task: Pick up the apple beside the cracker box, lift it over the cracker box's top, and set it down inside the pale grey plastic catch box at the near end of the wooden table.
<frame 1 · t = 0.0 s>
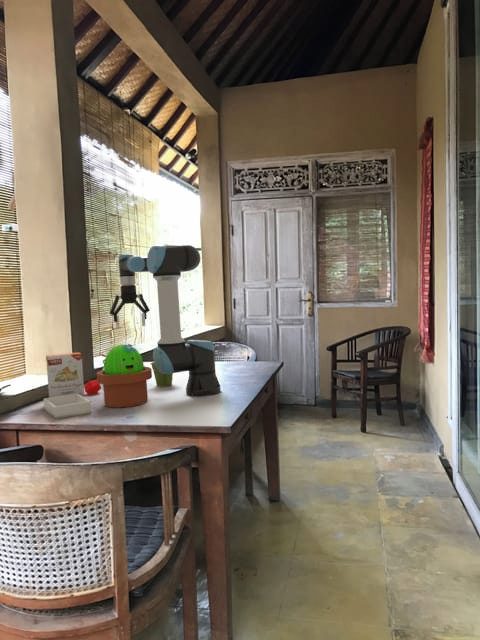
hand: (131, 327, 253), 28 cm above the table, tool pointing down, fingers open, 13 cm apart
catch box: (67, 411, 199), on the table
plant pot: (164, 385, 242), on the table
potted cactus: (126, 403, 208), on the table
cracker box: (67, 402, 216), on the table
apple: (93, 393, 232), on the table
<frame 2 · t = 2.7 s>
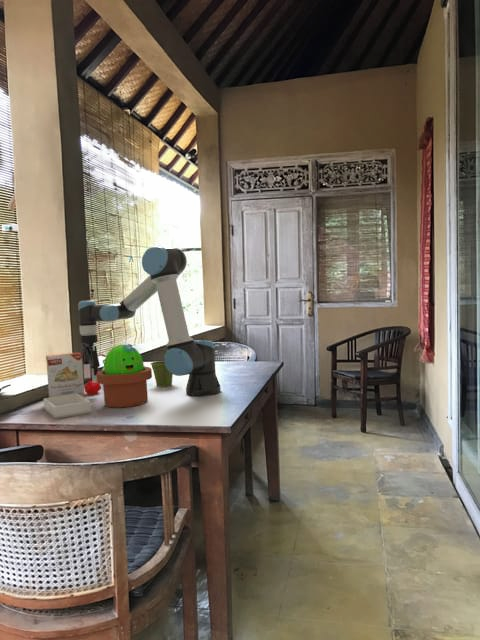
hand: (91, 380, 232), 6 cm above the table, tool pointing down, fingers open, 13 cm apart
nothing on the table moved.
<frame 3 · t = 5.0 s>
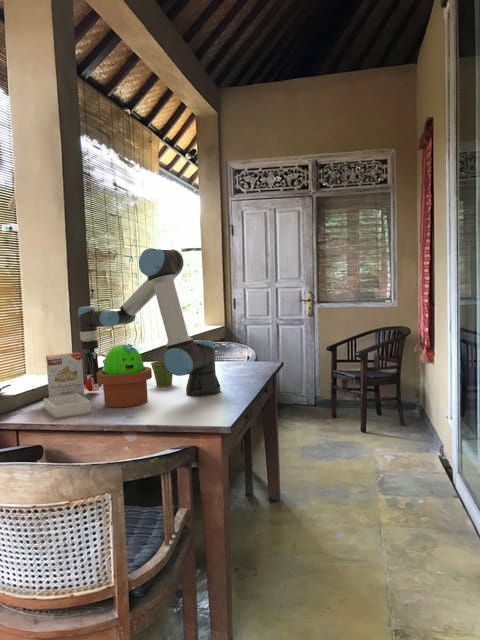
hand: (93, 389, 231), 2 cm above the table, tool pointing down, fingers closed on apple, 7 cm apart
apple: (93, 390, 231), point 1 cm above the table, touching gripper
everything else where it was.
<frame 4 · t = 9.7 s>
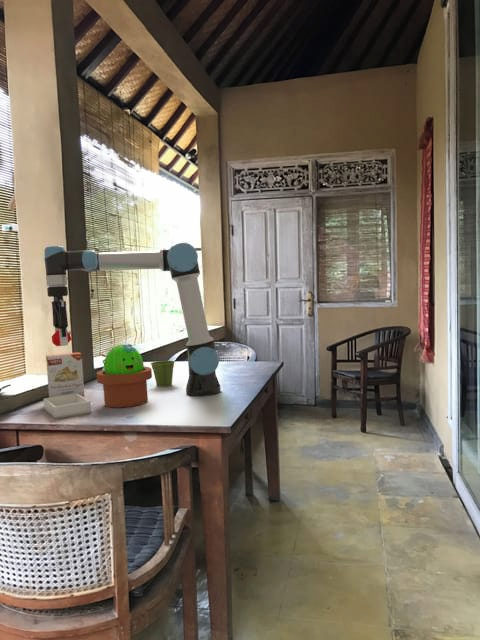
hand: (62, 344, 198), 27 cm above the table, tool pointing down, fingers closed on apple, 7 cm apart
apple: (62, 345, 198), point 26 cm above the table, touching gripper
everything else where it was.
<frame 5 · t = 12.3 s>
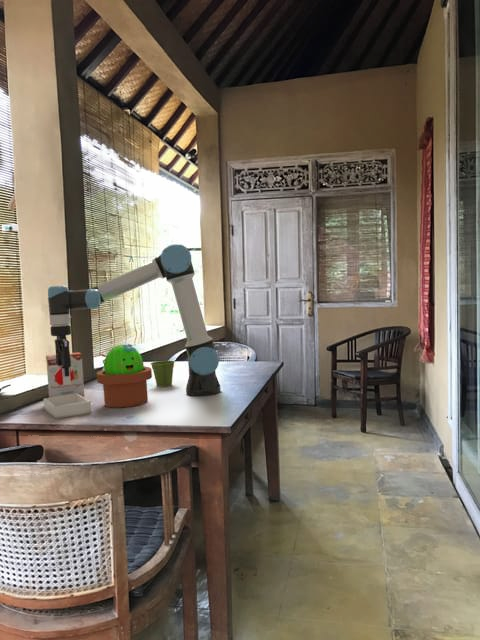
hand: (64, 383, 199), 11 cm above the table, tool pointing down, fingers closed on apple, 7 cm apart
apple: (65, 384, 199), point 11 cm above the table, touching gripper
everything else where it was.
when the fingers open (2 cm above the table, at t = 14.5 s): apple drops 1 cm, resting on catch box.
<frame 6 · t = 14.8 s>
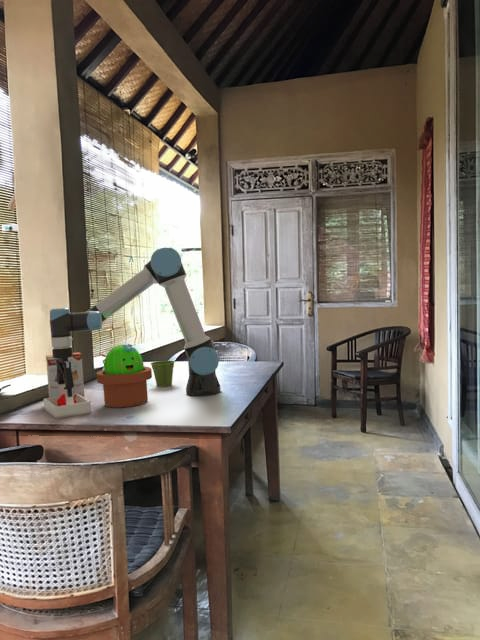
hand: (66, 402, 199), 3 cm above the table, tool pointing down, fingers open, 10 cm apart
apple: (67, 409, 199), point 1 cm above the table, touching catch box
everything else where it was.
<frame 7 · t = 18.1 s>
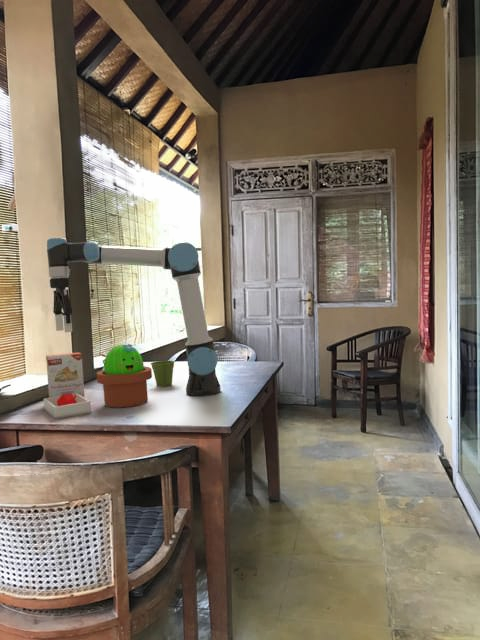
hand: (64, 331, 199), 32 cm above the table, tool pointing down, fingers open, 13 cm apart
nothing on the table moved.
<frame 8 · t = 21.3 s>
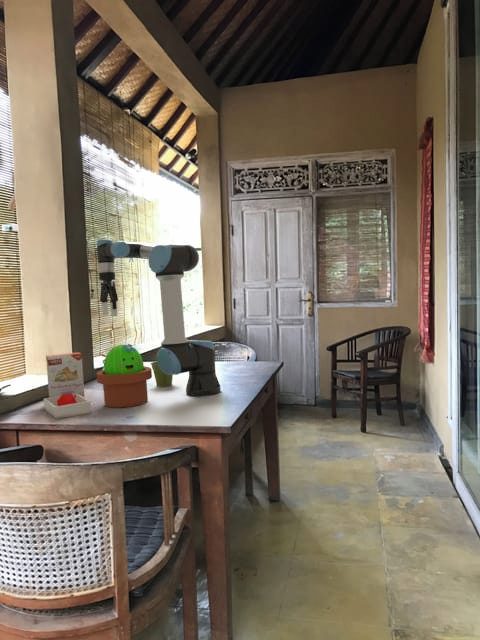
hand: (110, 315, 243), 35 cm above the table, tool pointing down, fingers open, 13 cm apart
nothing on the table moved.
at the end: apple inside the target area on the catch box (0.1 cm from its centre), point 0.6 cm above the catch box's base; the gripper is holding nothing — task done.
